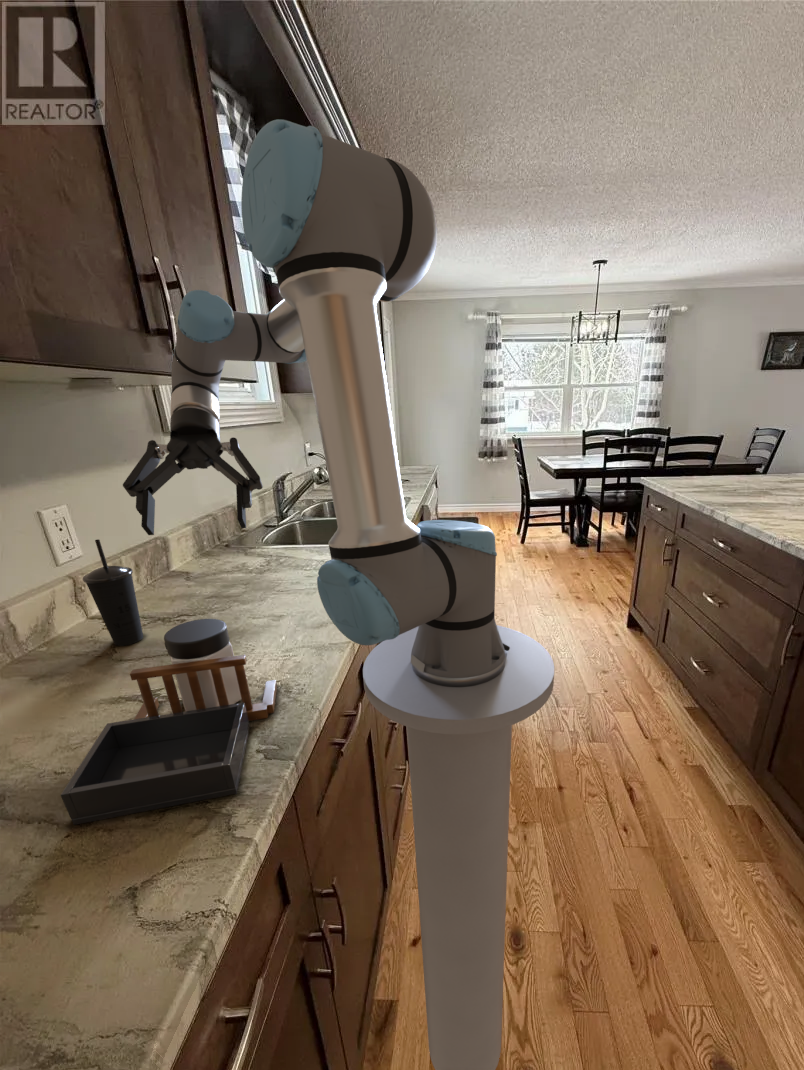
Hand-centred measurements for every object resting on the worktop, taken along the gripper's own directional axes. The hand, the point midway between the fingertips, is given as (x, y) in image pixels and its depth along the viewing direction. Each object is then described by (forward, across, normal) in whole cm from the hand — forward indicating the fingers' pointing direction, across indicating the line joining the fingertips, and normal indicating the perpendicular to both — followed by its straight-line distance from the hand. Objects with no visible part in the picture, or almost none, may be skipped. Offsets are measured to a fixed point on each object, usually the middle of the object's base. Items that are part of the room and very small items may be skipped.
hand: (195, 527), depth 75 cm
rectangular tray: (+36, +2, +3) cm, 37 cm away
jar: (+26, 0, -8) cm, 27 cm away
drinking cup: (+7, +20, -27) cm, 35 cm away
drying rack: (+28, 0, -6) cm, 29 cm away
